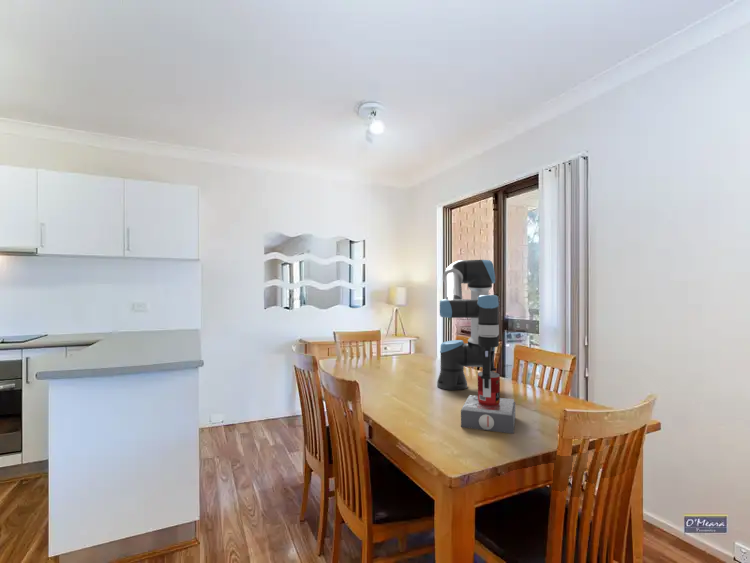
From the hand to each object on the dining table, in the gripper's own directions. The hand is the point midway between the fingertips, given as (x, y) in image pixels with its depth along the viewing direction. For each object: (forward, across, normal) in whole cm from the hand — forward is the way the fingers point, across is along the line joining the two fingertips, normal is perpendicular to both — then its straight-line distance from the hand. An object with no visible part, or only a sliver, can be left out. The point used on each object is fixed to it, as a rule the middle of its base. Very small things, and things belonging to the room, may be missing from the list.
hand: (488, 392), depth 148 cm
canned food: (+4, 0, 0) cm, 4 cm away
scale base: (+11, 0, 0) cm, 11 cm away
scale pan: (+5, 0, 0) cm, 5 cm away
